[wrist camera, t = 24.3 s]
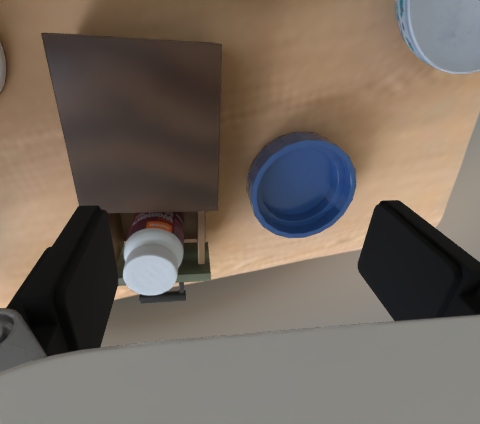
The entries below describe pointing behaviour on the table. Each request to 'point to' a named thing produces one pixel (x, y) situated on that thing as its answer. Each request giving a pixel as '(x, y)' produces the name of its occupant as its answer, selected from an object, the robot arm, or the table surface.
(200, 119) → the cabinet
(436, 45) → the chinaware
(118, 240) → the drawer
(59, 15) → the table surface
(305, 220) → the bowl
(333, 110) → the table surface
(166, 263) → the pill bottle
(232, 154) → the table surface
